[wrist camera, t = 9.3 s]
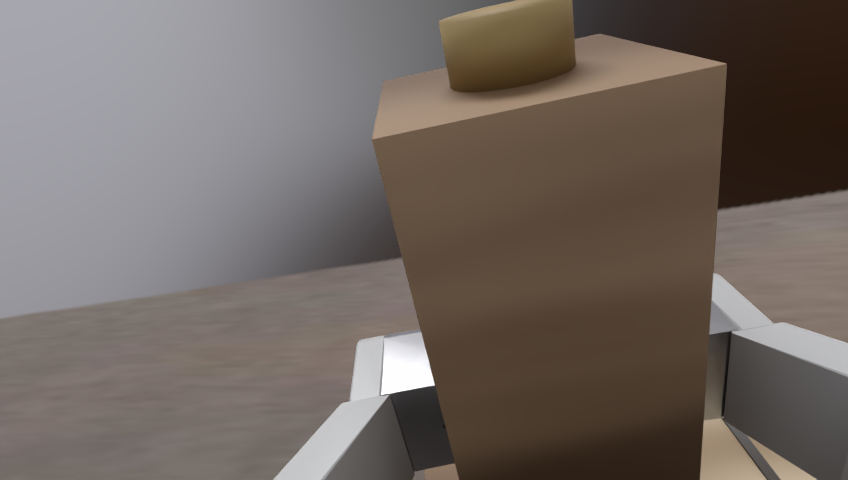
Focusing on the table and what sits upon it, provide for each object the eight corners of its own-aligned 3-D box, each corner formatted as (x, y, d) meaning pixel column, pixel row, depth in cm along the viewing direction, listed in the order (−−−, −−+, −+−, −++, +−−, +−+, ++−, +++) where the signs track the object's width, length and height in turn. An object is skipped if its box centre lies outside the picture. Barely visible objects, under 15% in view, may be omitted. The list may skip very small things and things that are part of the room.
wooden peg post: (793, 750, 9) (1039, -79, 3) (462, 795, 9) (167, 116, 4) (647, 465, 14) (645, -38, 9) (440, 500, 15) (307, 39, 9)
